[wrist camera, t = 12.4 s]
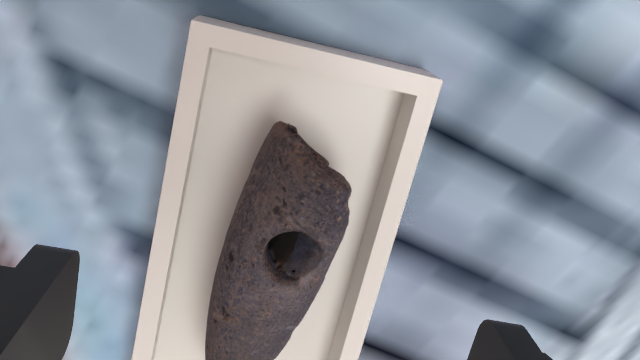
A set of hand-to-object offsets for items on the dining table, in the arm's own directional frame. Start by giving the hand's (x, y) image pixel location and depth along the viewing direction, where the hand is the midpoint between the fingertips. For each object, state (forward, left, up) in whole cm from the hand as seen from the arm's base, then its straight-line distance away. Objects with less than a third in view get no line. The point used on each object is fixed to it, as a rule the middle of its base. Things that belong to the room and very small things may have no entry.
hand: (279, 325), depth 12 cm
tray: (-2, +7, -21) cm, 23 cm away
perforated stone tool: (-1, +7, -21) cm, 22 cm away
